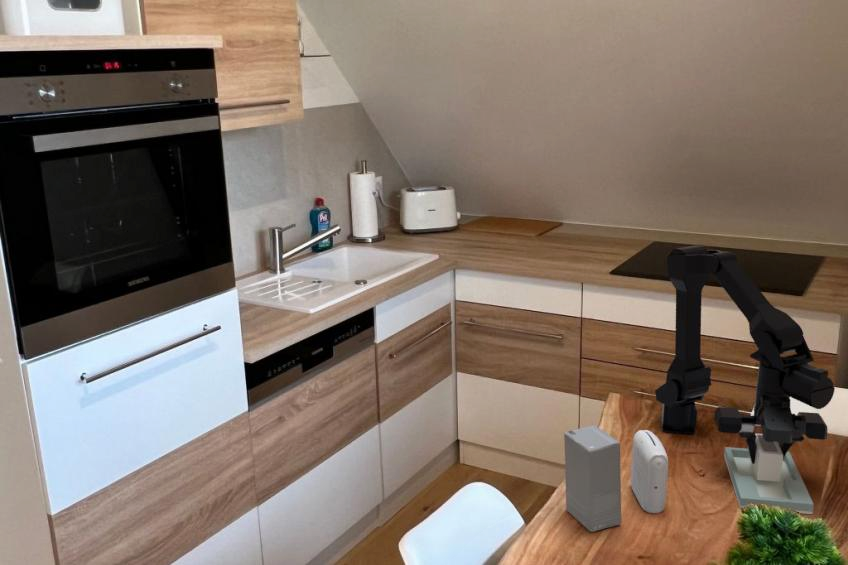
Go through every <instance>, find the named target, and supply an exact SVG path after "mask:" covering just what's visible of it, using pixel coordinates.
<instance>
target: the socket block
mask: <svg viewBox="0 0 848 565" xmlns="http://www.w3.org/2000/svg"><path fill="white" fill-rule="evenodd" d="M755 435H756V440H755V463H754V464H752V462H751V458H750V456H749V459H750V462H751V465H752V468H753V470H754V473H755V476H756V478H757V480H765V481H777V482H780V478H781V470H782V461H783V453H782V451H781V449H780V447H779V444H778V442H767V441H765V440H764V439H763V434H762V433H755Z"/></svg>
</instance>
